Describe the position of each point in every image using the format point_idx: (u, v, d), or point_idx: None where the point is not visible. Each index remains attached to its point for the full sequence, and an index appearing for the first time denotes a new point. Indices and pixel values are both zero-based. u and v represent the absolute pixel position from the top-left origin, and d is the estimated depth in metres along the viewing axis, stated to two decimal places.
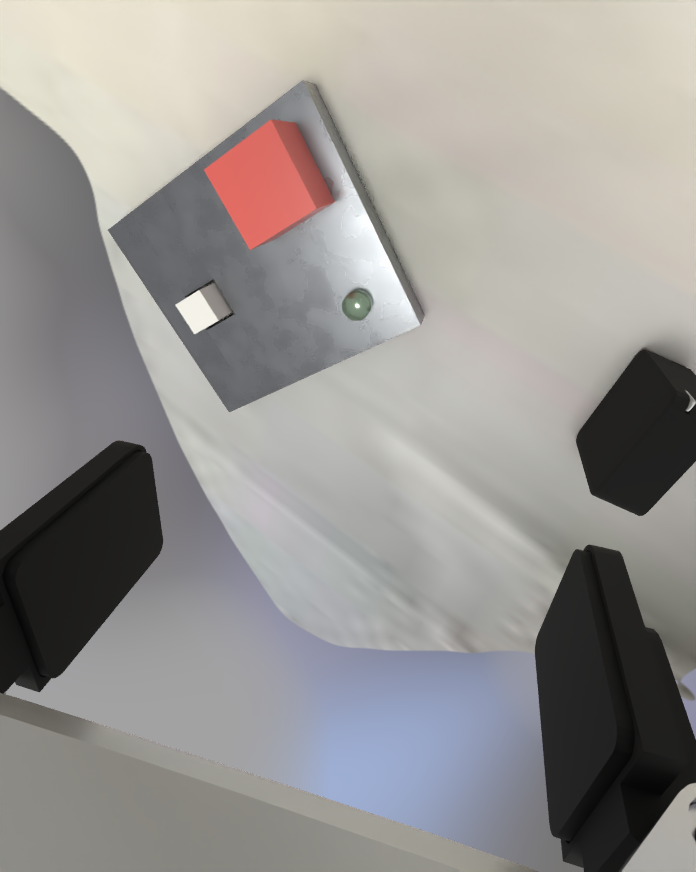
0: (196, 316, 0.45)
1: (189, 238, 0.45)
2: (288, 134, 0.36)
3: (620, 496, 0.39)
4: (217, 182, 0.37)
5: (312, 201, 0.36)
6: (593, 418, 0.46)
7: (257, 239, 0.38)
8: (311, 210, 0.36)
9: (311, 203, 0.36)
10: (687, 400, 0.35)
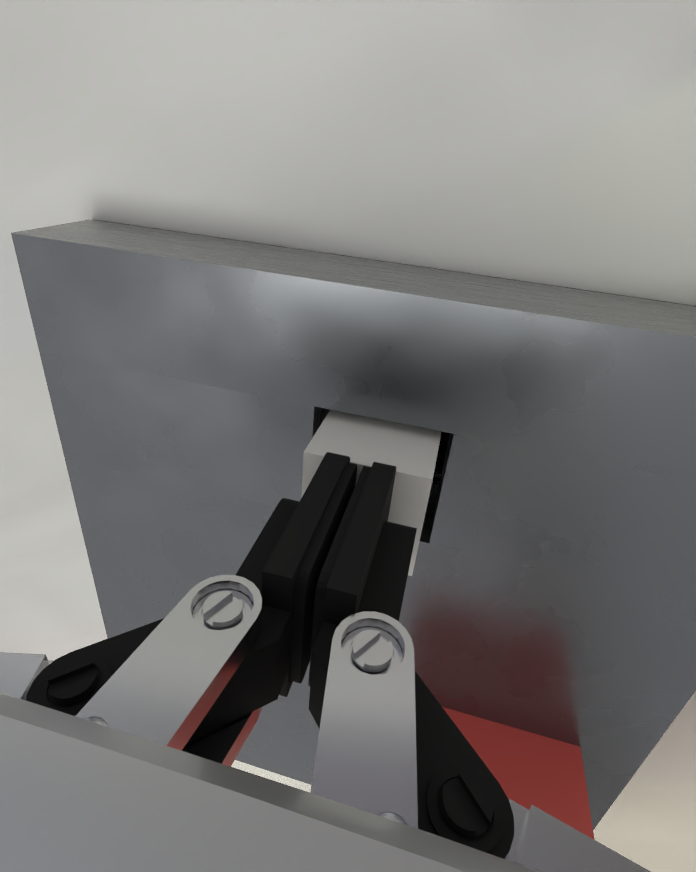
0: None
1: (570, 572, 0.14)
2: None
3: None
4: None
5: None
6: None
7: None
8: None
9: None
10: None
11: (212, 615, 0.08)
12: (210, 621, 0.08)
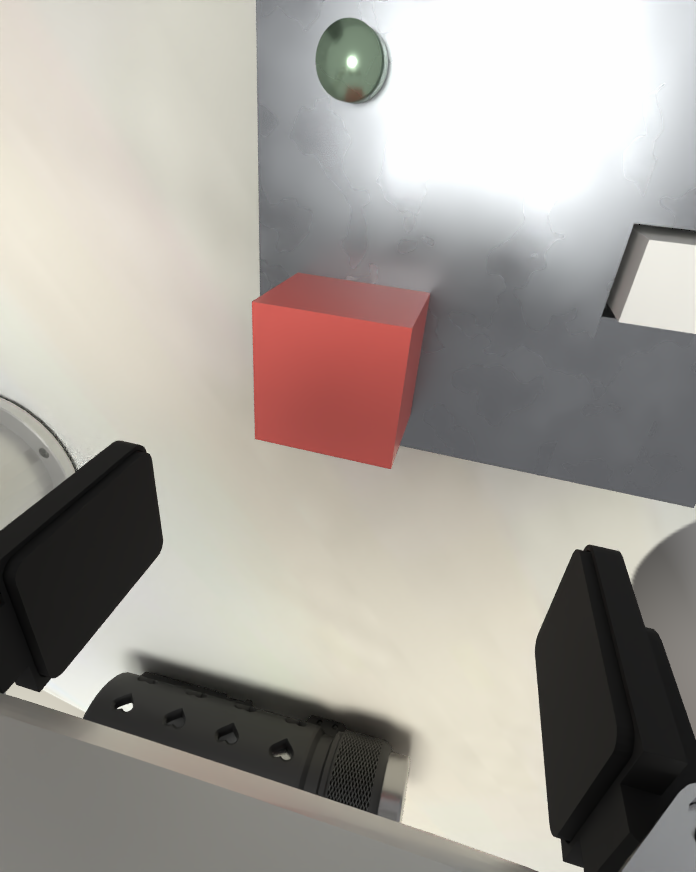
0: (686, 282, 0.18)
1: (571, 397, 0.23)
2: None
3: None
4: (383, 443, 0.21)
5: (253, 315, 0.19)
6: None
7: (384, 333, 0.18)
8: (262, 305, 0.19)
9: (256, 314, 0.19)
10: None
11: None
12: None
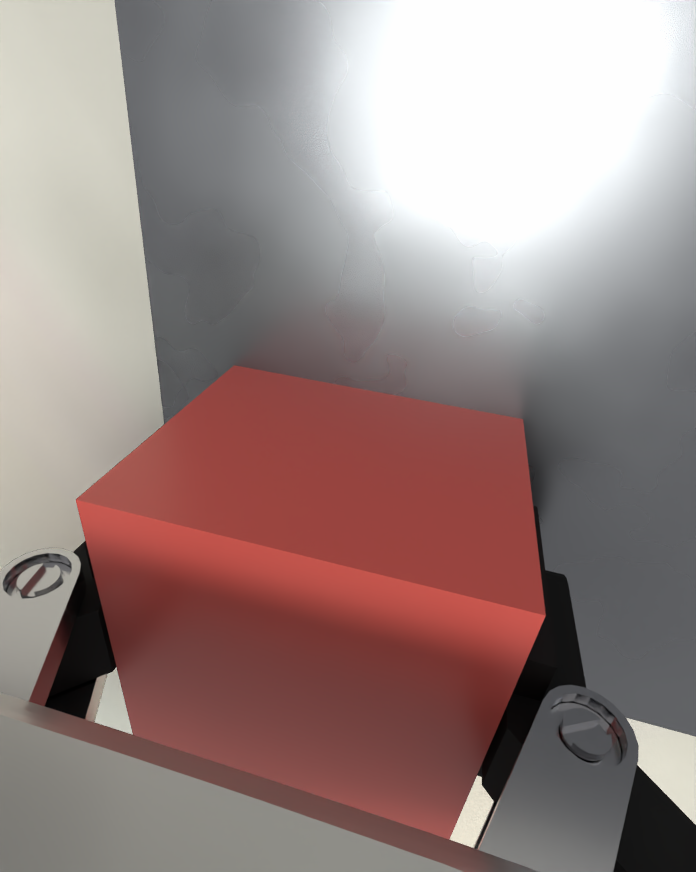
0: None
1: None
2: None
3: None
4: (432, 808, 0.08)
5: (87, 529, 0.07)
6: None
7: (454, 615, 0.06)
8: (103, 510, 0.07)
9: (92, 528, 0.07)
10: None
11: (30, 588, 0.08)
12: (30, 594, 0.08)
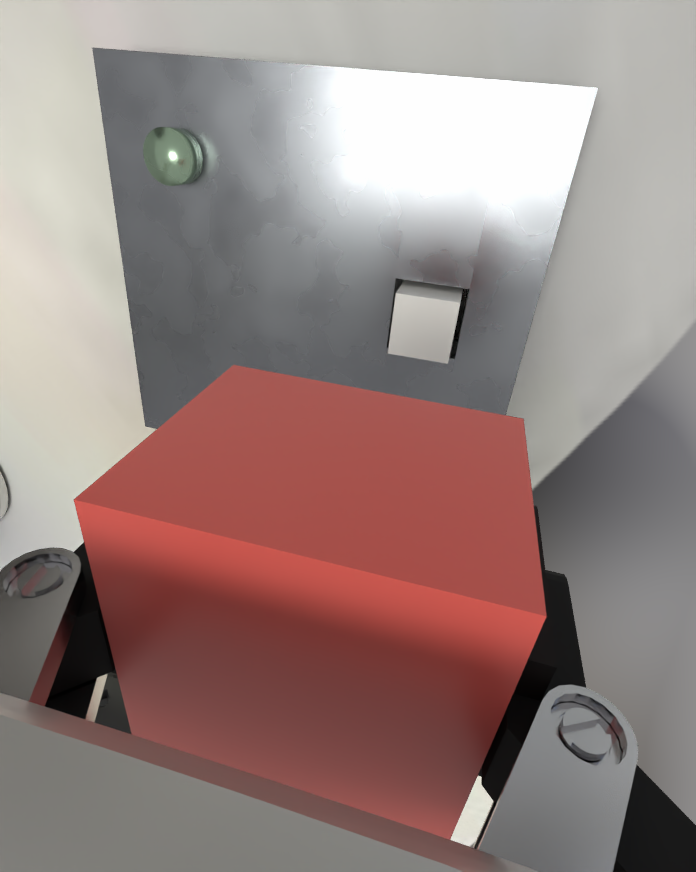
0: (427, 324, 0.24)
1: None
2: None
3: None
4: (432, 809, 0.08)
5: (85, 529, 0.07)
6: None
7: (454, 616, 0.06)
8: (101, 510, 0.07)
9: (90, 528, 0.07)
10: None
11: (31, 588, 0.08)
12: (31, 594, 0.08)
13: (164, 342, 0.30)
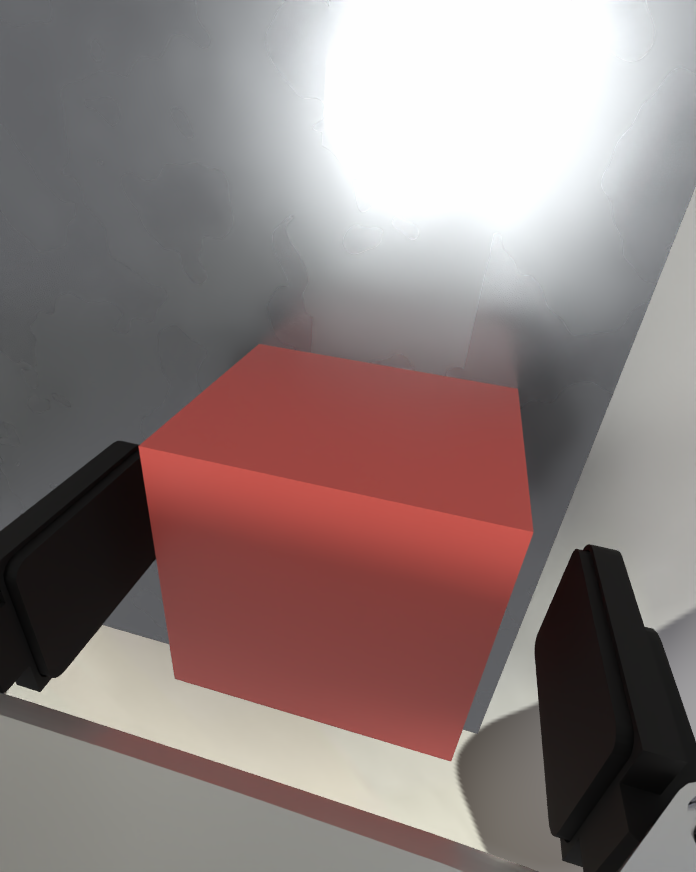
0: None
1: None
2: None
3: None
4: (439, 722, 0.10)
5: (146, 472, 0.08)
6: None
7: (457, 536, 0.07)
8: (162, 454, 0.08)
9: (151, 471, 0.08)
10: None
11: None
12: None
13: None
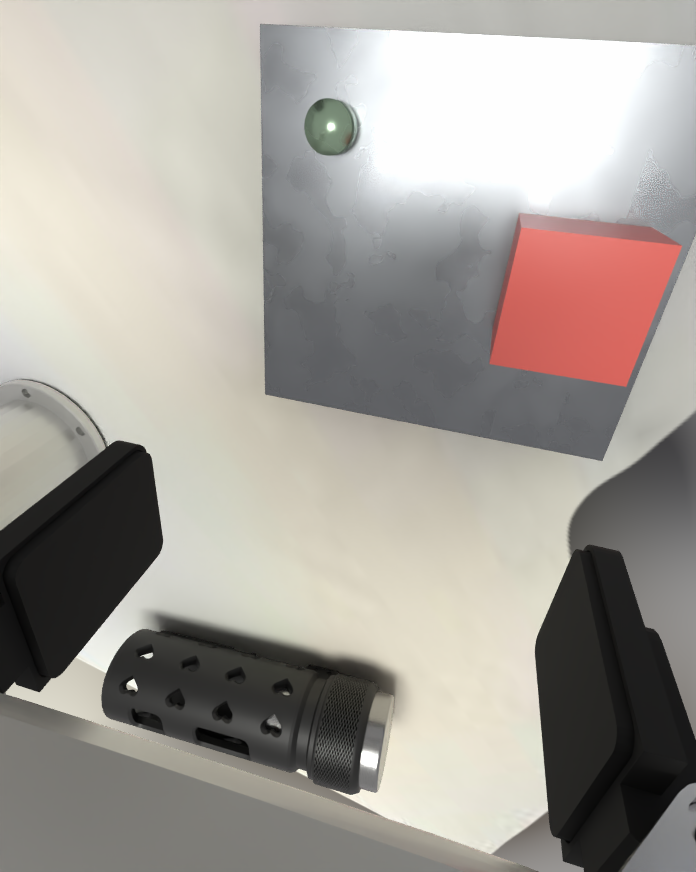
0: None
1: (504, 375, 0.30)
2: (494, 331, 0.26)
3: None
4: (624, 361, 0.23)
5: (519, 241, 0.21)
6: None
7: (651, 252, 0.20)
8: (530, 230, 0.21)
9: (522, 239, 0.21)
10: None
11: None
12: None
13: (295, 311, 0.31)
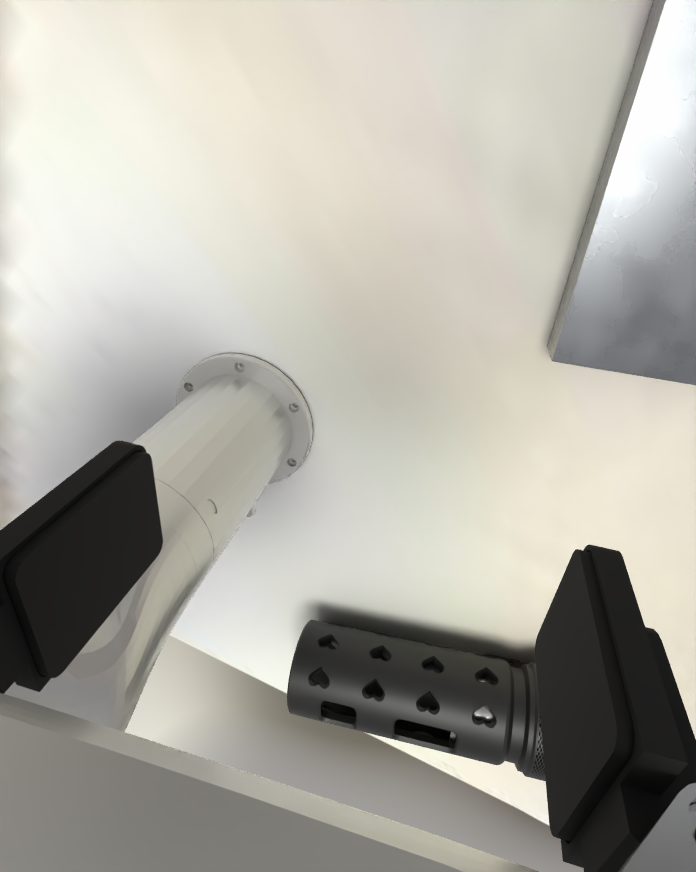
0: None
1: None
2: None
3: None
4: None
5: None
6: None
7: None
8: None
9: None
10: None
11: None
12: None
13: (619, 269, 0.30)
